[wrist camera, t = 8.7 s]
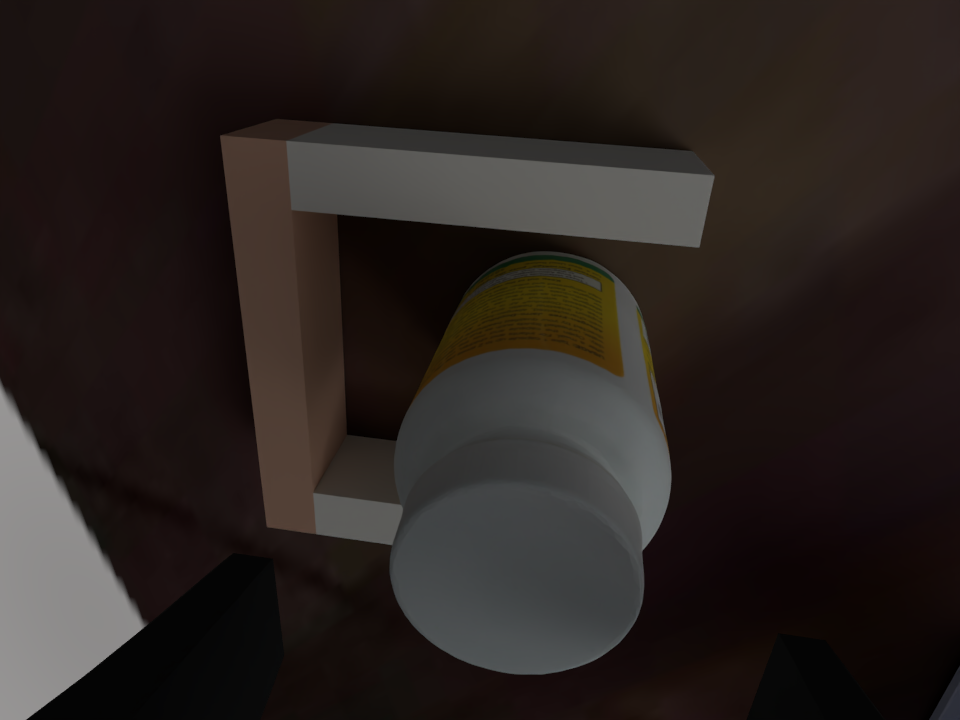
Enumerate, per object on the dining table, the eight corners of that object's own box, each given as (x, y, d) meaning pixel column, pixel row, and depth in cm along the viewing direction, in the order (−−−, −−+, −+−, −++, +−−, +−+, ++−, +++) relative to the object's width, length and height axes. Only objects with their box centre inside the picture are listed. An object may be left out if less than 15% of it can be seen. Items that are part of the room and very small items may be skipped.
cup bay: (623, 509, 21) (629, 578, 18) (305, 466, 22) (267, 526, 19) (692, 151, 16) (714, 175, 13) (276, 118, 17) (219, 135, 14)
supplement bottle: (683, 350, 18) (769, 628, 10) (535, 447, 20) (501, 745, 12) (560, 202, 17) (535, 376, 9) (415, 322, 19) (280, 557, 11)
